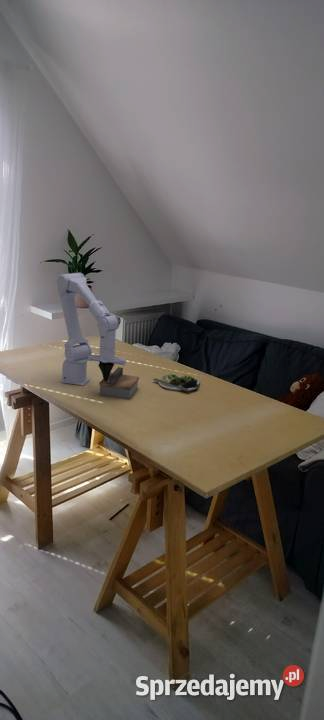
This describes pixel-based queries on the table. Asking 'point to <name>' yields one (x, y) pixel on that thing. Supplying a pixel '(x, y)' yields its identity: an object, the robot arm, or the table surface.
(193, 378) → the salad plate
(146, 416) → the table surface
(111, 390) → the storage box
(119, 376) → the lid
